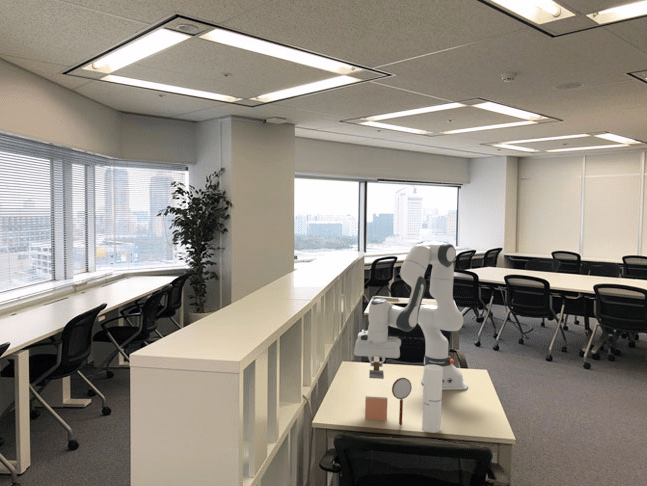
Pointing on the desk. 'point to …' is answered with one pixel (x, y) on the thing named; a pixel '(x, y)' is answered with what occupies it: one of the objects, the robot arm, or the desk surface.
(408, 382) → the magnifying glass
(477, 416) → the desk surface
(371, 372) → the turner
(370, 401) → the glazed tile
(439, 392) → the cylindrical container
